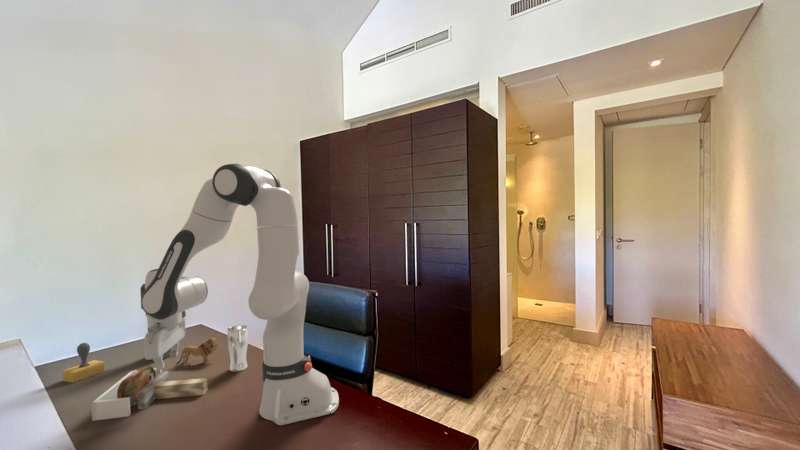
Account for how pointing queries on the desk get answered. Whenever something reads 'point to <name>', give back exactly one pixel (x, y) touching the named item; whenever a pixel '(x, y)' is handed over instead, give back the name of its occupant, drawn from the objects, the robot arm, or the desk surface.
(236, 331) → the beer glass
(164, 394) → the scraper
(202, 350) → the lion figurine
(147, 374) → the tin
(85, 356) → the rubber stamp
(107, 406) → the box
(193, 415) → the desk surface
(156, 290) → the robot arm
